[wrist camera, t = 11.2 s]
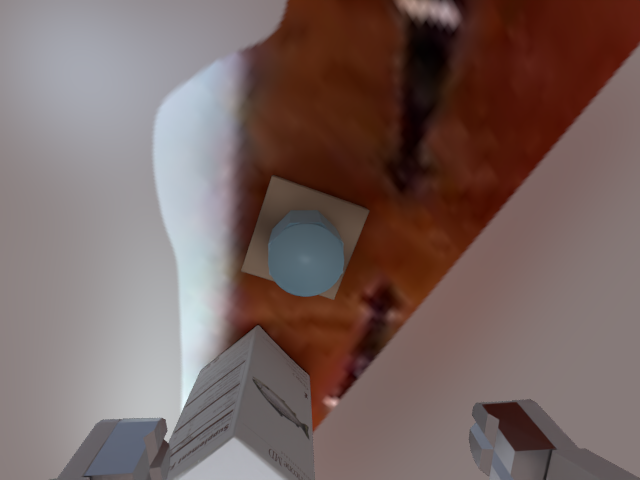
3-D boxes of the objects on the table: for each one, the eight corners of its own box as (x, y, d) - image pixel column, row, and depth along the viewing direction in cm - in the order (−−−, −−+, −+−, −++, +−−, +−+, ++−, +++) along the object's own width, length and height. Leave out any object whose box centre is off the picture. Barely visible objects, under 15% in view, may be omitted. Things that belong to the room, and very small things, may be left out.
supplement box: (312, 374, 32) (322, 513, 20) (252, 419, 33) (226, 578, 21) (259, 320, 31) (235, 436, 18) (197, 369, 31) (134, 510, 19)
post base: (273, 174, 27) (268, 180, 23) (366, 208, 29) (379, 219, 24) (243, 266, 29) (234, 287, 25) (332, 293, 30) (338, 318, 26)
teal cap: (271, 210, 27) (266, 224, 22) (336, 209, 27) (345, 223, 22) (273, 271, 28) (269, 297, 23) (335, 270, 28) (343, 295, 24)
